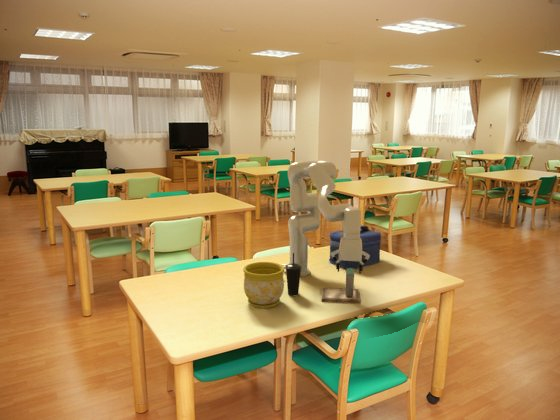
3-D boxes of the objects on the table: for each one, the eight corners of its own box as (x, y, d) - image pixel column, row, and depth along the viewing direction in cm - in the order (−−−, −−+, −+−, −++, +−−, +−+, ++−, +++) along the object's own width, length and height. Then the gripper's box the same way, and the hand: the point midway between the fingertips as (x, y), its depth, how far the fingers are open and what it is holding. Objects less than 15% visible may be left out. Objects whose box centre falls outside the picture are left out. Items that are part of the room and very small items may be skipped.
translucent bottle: (345, 297, 199) (346, 270, 196) (345, 294, 202) (346, 267, 200) (353, 298, 198) (354, 270, 196) (353, 295, 202) (354, 268, 199)
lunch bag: (360, 252, 273) (361, 220, 269) (387, 260, 257) (389, 226, 253) (324, 262, 254) (325, 227, 250) (351, 271, 238) (353, 235, 234)
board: (321, 301, 198) (321, 298, 198) (322, 289, 212) (322, 286, 212) (359, 303, 196) (359, 300, 196) (358, 291, 210) (358, 288, 210)
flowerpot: (269, 314, 184) (269, 277, 181) (235, 305, 194) (234, 270, 190) (291, 300, 199) (291, 265, 196) (258, 292, 209) (258, 259, 205)
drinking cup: (289, 298, 202) (290, 256, 198) (282, 292, 208) (282, 252, 204) (304, 295, 205) (304, 254, 201) (296, 289, 212) (296, 250, 208)
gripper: (331, 236, 192) (329, 273, 196) (371, 238, 190) (369, 275, 194) (331, 231, 199) (330, 267, 203) (370, 233, 197) (367, 269, 201)
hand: (349, 271), depth 199 cm, fingers open, 9 cm apart
